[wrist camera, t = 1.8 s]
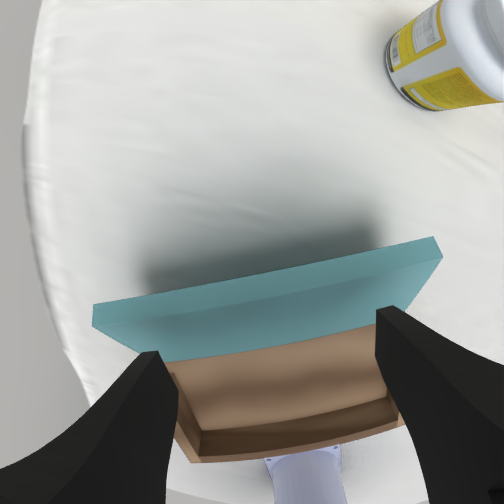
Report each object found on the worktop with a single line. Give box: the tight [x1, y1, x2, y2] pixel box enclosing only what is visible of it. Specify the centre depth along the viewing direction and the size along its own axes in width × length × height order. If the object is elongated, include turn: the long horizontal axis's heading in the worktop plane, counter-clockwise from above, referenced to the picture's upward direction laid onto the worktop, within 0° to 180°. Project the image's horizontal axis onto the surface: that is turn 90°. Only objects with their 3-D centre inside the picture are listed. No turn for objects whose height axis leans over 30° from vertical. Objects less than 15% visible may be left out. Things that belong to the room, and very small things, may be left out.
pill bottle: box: [386, 0, 504, 111], centre depth 11 cm, size 6×6×12 cm
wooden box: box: [164, 323, 405, 463], centre depth 21 cm, size 9×18×5 cm, turn 102°
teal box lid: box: [92, 236, 443, 362], centre depth 17 cm, size 1×17×8 cm
